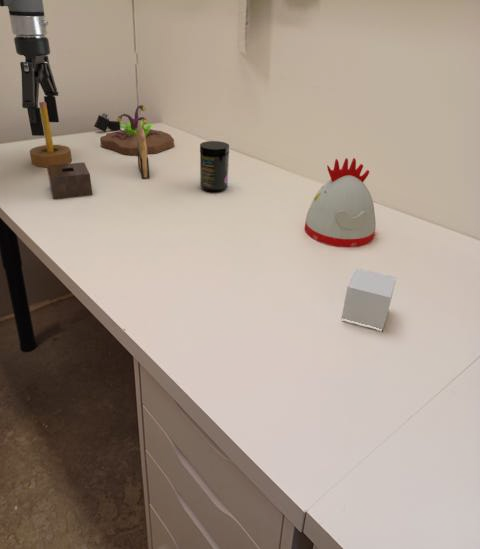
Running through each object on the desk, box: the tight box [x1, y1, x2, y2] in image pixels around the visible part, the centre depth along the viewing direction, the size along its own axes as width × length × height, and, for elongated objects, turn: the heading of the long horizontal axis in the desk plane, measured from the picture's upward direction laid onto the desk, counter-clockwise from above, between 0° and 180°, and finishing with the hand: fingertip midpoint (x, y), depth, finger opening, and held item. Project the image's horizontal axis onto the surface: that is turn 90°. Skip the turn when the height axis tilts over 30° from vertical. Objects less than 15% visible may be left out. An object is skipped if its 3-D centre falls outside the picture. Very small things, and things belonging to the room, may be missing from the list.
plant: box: [99, 104, 175, 157], centre depth 139 cm, size 20×20×11 cm
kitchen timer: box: [304, 157, 377, 248], centre depth 92 cm, size 14×14×15 cm
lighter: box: [93, 112, 121, 133], centre depth 153 cm, size 8×2×5 cm
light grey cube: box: [341, 267, 397, 330], centre depth 70 cm, size 6×6×6 cm
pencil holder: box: [46, 162, 93, 200], centre depth 108 cm, size 8×8×5 cm
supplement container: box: [199, 140, 230, 193], centre depth 111 cm, size 7×7×10 cm
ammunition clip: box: [137, 120, 150, 180], centre depth 119 cm, size 11×2×12 cm, turn 15°
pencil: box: [38, 101, 54, 152], centre depth 122 cm, size 2×2×15 cm
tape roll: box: [29, 144, 73, 168], centre depth 126 cm, size 10×10×3 cm
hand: (46, 128), depth 122 cm, fingers open, 13 cm apart
